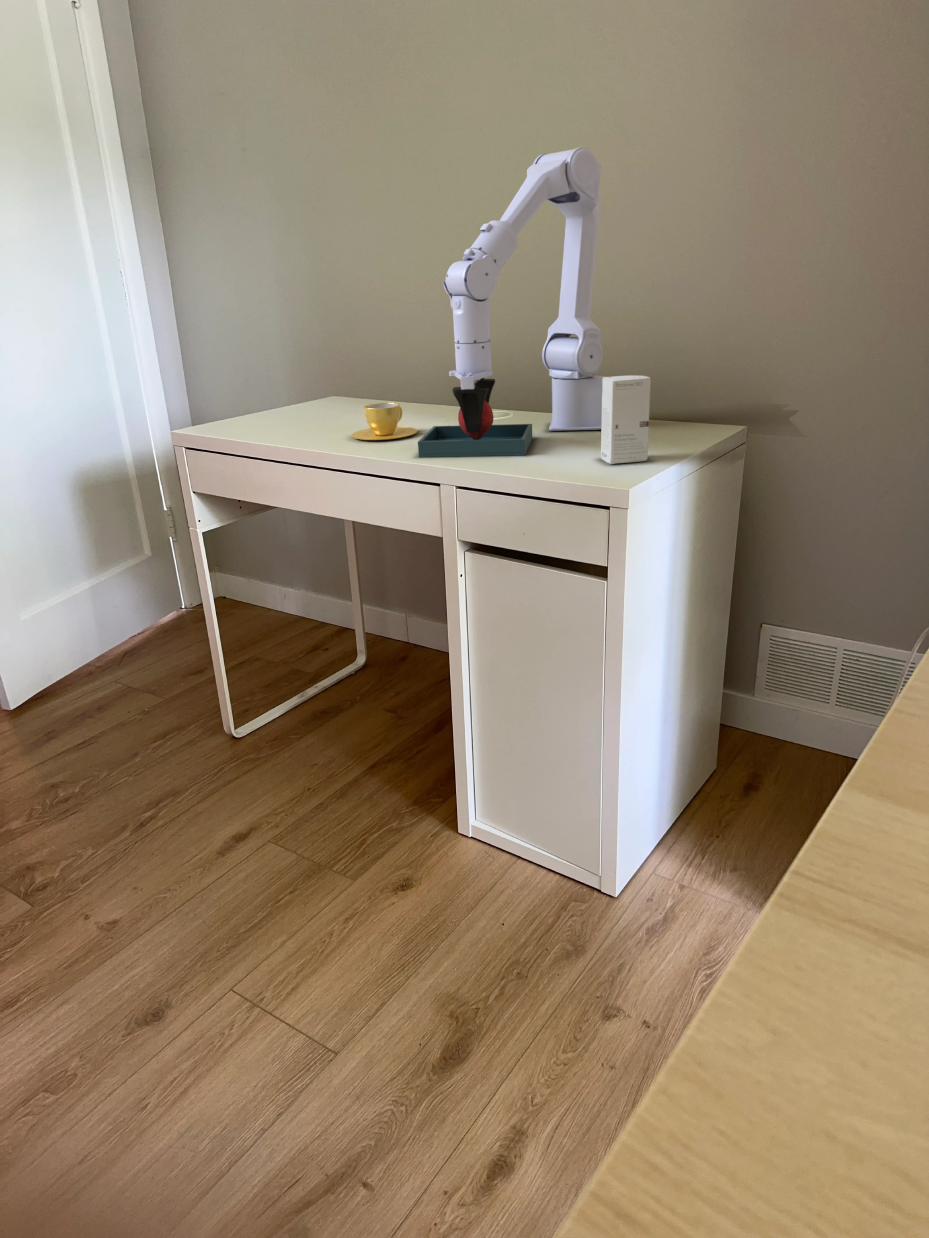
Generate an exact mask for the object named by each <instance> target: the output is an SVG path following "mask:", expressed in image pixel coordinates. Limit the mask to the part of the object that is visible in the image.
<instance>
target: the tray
mask: <svg viewBox="0 0 929 1238" xmlns="http://www.w3.org/2000/svg"><path fill="white" fill-rule="evenodd" d="M532 440H533V423H512V424H511V423H510V424H509V423H508V424H492V426H491V428H490V429H489V430H488V431H487V432H486V433H485V434H484V435H483V436H482V437H481V439H479V440H474V439H473V438H471V437H469V436H468V435H467V434H465V432H464V431H463V430H462V429H461V427H460V425H433V426H432V427H431V428H430V429H429V430H428V431H427V432H426V433H425V434H424V435H423V436H422V437H421V438H420V439H419V440H417V451H418V458H443V457H444V458H446V457H448V458H449V457H450V458H451V457H501V456H508V457H509V456H511V457H512V456H526V454H527V451H528V450H529V447H530V445H531V443H532Z"/></svg>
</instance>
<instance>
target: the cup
mask: <svg viewBox="0 0 929 1238" xmlns="http://www.w3.org/2000/svg"><path fill="white" fill-rule="evenodd" d="M363 412H364V416H365V419H366V423H367V426H368V427H369V428H365V429H364V428H363V429H361V430H357V431H355V432H353V433H352V434H351V437H352V438H354V439H357V440H364V441H382V440H383V441H384V440H393V439H401V438H406V437H410V436H413V435H415V434H416V433H417V432H418V430H417V429H416V428H414V427H410V426H398V423H399V422H400V421H401V419H402V417H403V409H402V407H401V406H400V404H399V403H397V402H376V403H370V404H366V405H363Z"/></svg>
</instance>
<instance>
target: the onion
mask: <svg viewBox="0 0 929 1238" xmlns="http://www.w3.org/2000/svg"><path fill="white" fill-rule="evenodd" d="M457 419H458V426H460V427H461V429H462V430H463V431H464V432H465V434H467V435H468V436H469V437H471V438H473V439H474V440H479V439H481V437H482V436H483V435H484V434H485V433H486V432H487V431H488V430H489V429H490V428H491V426H492V425H494V424H493V423H494V412H493V409H492V407H491V405H490V404H488V403H487V402H486V401H484V406H483V413H482V424H481V429H480V432H467V430H466V427H465V423H464V419H463V415H462V411H461V408H459V410H458V414H457Z"/></svg>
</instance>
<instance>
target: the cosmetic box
mask: <svg viewBox="0 0 929 1238" xmlns="http://www.w3.org/2000/svg"><path fill="white" fill-rule="evenodd" d="M651 382H652V379H651V377H650V376H646V375H641V374H634V375H617V376H604V377H603V379H602V428H601V431H600V433H601V434H600V436H601V437H600V459H601V460H602V461H604V462H606V463H607V464H608V465H609V464H610V465H615V464H625V463H626V464H627V463H636V462H646V461H648V460H649V459H648V458H649V457H648V455H649V434H650V409H651V408H650V405H651V385H652V383H651Z"/></svg>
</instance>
